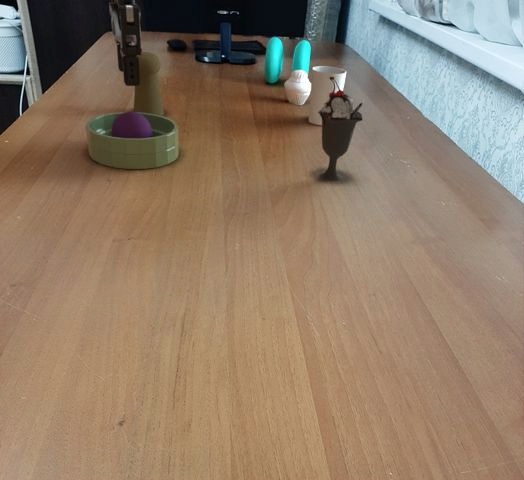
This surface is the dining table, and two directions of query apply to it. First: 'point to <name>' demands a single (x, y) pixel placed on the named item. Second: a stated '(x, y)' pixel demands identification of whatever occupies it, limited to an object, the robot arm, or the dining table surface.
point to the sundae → (337, 128)
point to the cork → (148, 86)
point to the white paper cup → (323, 89)
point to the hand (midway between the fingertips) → (128, 78)
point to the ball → (131, 126)
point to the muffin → (297, 87)
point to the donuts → (276, 58)
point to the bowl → (132, 143)
